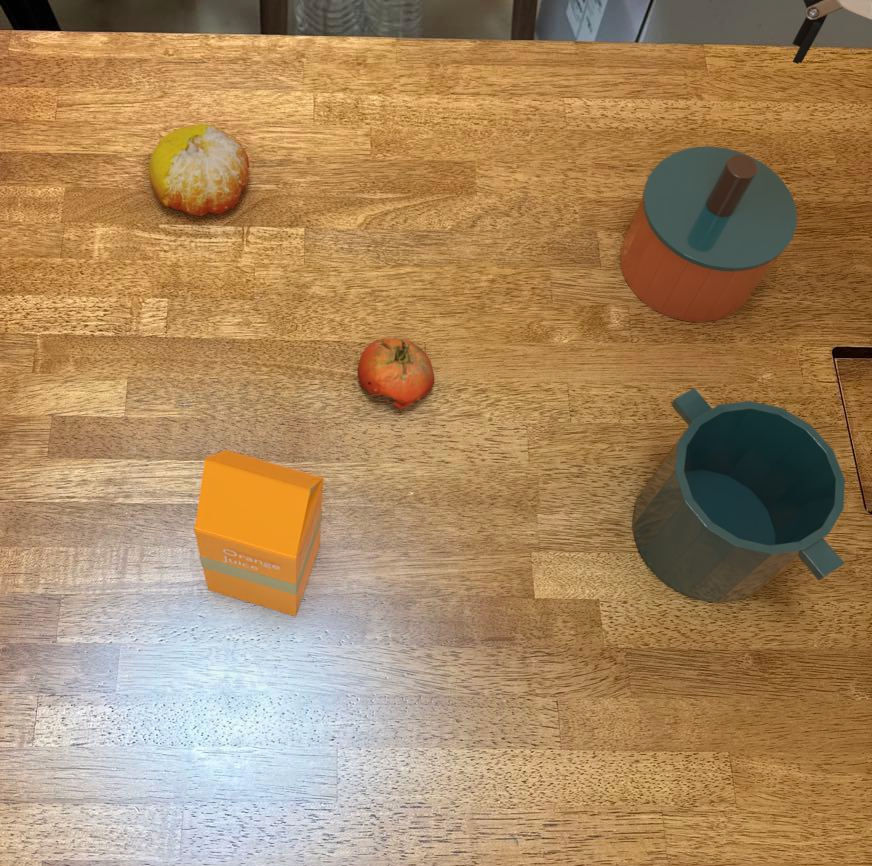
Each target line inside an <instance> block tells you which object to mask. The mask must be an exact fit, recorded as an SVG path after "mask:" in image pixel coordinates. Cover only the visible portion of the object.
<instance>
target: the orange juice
mask: <svg viewBox="0 0 872 866" xmlns="http://www.w3.org/2000/svg"><path fill="white" fill-rule="evenodd" d="M201 476H202V477H201V483H200V491H199V497H198V504H197V510H196V511H197V512H196V518H195V524H194V527H193V531H194V535H195V539H196V544H197V548H198V549H197V550H198V552H199V560H200V564H201V567H202V571H203V575H204V578H205V583H206V587H207V591H210V592H214V593H217V594H221V595H223V596H227V597H231V598H234V599H237V600H240V601H243V602H246V603H250V604H253V605H257V606H260V607H264V608H266V609H270V610H273V611H276V612H280V613H283V614H286V615H290V616H293V617H297V614H298V612H299V609H300V606H301V602H302V599H303V596H304V593H305V592H306V588H307V585H308V582H309V579H310V576H311V573H312V570H313V567H314V564H315V561H316V558H317V555H318V552H319V549H320V546H321V528H322V519H323V495H324V494H323V493H324V492H323V491H324V477H321V476H317V475H314V474H311V473H307V472H303V471H301V470H297V469H294V468H289V467H286V466H283V465H279V464H276V463H273V462H269V461H265V460H262V459H259V458H256V457H251V456H248V455H246V454H242V453H238V452H235V451H231V450H227V449H224V450H222V451H220V452H217V453H214V454H211V455H210V456H206V457H205V458H204V463H203V472H202V475H201Z"/></svg>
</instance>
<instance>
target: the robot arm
mask: <svg viewBox="0 0 872 866" xmlns="http://www.w3.org/2000/svg"><path fill="white" fill-rule="evenodd" d="M803 2H804V5H805V7H806V11H805V19H804V20H803V22H802V24H801V25H800V28H799V30H798V32H797V33H796V35H795V37H794V39H793V41H792V43H791V44H792V45H794V46H797V47H799V48H798V49H797V52H796V54H795V56H794V57H793V59H792V63H793V64H797V65H799V64H802V63H803V61H804V59H805V58H806V56H807V55H808V52H809V50H810V48H811V47H812V45H813V44H814V41H815V40H816V38H817V36H818V35H819V33H820V31H821V29H822V27H823V25H824V23H825V21H826V19H827V17H828V15H831V14H832V13H834V12H837V11H839V10H841V9H845V10H846V11H849V12H851V13H854V14H855V15H858V16H860V17H864V18H866V19H868V20H871V21H872V0H803Z"/></svg>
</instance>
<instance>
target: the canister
mask: <svg viewBox="0 0 872 866" xmlns="http://www.w3.org/2000/svg"><path fill="white" fill-rule="evenodd" d="M622 243H623V244H622ZM622 243H621V247H620V252H621V253H620V252H619V253H620V254H619V261H620V262H621V263H620V268H621V273H622V275H623V277H624V279H625V282H626V283H627V285H628V287H629V288H630V290H631V291H632V292H633V293H634V294H635V295H636V297H637V298H639V299H640V301H642V302H643V303H644V304H645V305H647V307H649V308H651V309H652V310H654V311H656V312H657V313H659V314H662V315H664V316H667V317H669V318H671V319H675V320H679V321H685V322H692V323H705V322H706V323H707V322H713V321H718V320H721V319H724V318H727V317H729V316H731V315H733V314H735V313H736V312H737V311H739V310H740V309H742V307H743V306H744V305H745V304H746V303H747V302H748V301H749V299H750V298H751V296H753V294H755V292H756V290H757V289H758V287H759V286H760V284H761V283H762V281H763V280H764V278H765V277H766V275H767V274H768V273H769V271H770V269H771V268H772V267H773V265H774V264H775V262H776V261H777V259H778V257H777V258H776V259H774V260H773V261H771V262H769V263H767V264H765V265H763V266H761V267H758V268H754V269H751V270H745V271H733V272H731V271H719V270H712V269H708V268H705V267H701V266H698V265H696V264H693V263H691V262H689V261H687V260H685V259H683V258H681V257H680V256H678V255H676V254H675V253H673V252H672V251H671V250H670V249H668V248H667V247H666V246H665V245H664V244H663V243H662V242H661V241H660V240H659V239H658V238H657V236H656V235H655V234H654V233H653V231H652V229H651V228H650V226H649V224H648V222H647V219H646V217H645V213H644V210H643V196H642V198H641V199H640V202H639V204H638V206H637V209H636V211H635V213H634V215H633V218H632V220H631V222H630V224H629V226H628V228H627V231H626V234H625V236H624V238H623V241H622Z"/></svg>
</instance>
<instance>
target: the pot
mask: <svg viewBox="0 0 872 866" xmlns="http://www.w3.org/2000/svg"><path fill="white" fill-rule="evenodd" d="M670 405H671V407H672V408H673V409H674V410H675V411H676V412H677V414H678V415H679V416H680V418H681V419H682V420H683V421H684V422H685V423H686V425H687V426H688V427H686V429H685V430H684V432H683V433H682V435H681V436H680V437H679V438H678V440H677V441H676V442H675V444H674V445H673V447H672V448H671V450H670V451H669V452H668V454H667V455H666V456H665V458H664V459H663V461H662V462H661V464H660V465H659V466H658V468H657V469H656V470H655V472H654V473H653V475H652V476H651V478H650V479H649V480H648V481H647V484H646V485H645V486H644V488H643V489H642V491H641V492H640V494H639V495H638V497H637V498H636V500H635V505H634V509H633V514H632V533H633V537H634V538H633V539H634V542H635V544H636V548H637V550H638V552H639V554H640V556H641V558H642V560H643V561H644V563H645V564H646V566H647V567H648V568H649V570H650V571H651V572H652V573H653V574H654V575H655V576H656V577H657V578H658V579H659V580H660V581H661V582H662V583H663V584H665V585H666V586H668V587H669V588H671V589H672V590H674V591H676V592H677V593H679V594H681V595H684V596H687V597H689V598H692V599H696V600H698V601H703V602H709V603H727V602H733V601H738V600H741V599H745V598H748V597H750V596H751V595H753V594H754V593H756V592H758V591H759V590H761V589H762V588H764V587H765V586H768V584H770V583H771V582H772V581H774V579H776V578H777V577H779V575H781V574H782V573H783V572H784V571H785V570H787V569H788V568H790V567H791V566H792V565H793V564H794V563H795V562H796V561H798V560H799V559H800V561H801V562H802V563H803V564H804V565H805V567H806V568H807V569H808V570H809V571H810V573H811V574H812V575H813V576H814V577H815V579H816V580H818V581H821V580H823V579H824V578H826V577H827V576H829V575H830V574H832V573H833V572H835V571H836V570H838V569H840V568H842V566H844V565H845V562H844V560H843V559H842V558H841V557H840V556H839V554H837V553H836V551H835V550H834V549H833V548H832V546H831V545H830V544H829V543H828V542H827V540H826V539H825V538H826V537H828V535H830V533H831V532H832V530H833V528H834V526H835V525H836V523H837V521H838V519H839V518H840V516H841V514H842V513H843V510H844V509H845V487H846V486H845V485H846V479H845V476H844V474H843V471H842V469H841V466H840V463H839V461H838V458H837V456H836V453H835V451H834V449H833V448H832V447H831V446H830V445H829V443H828V442H827V441H826V440H825V439H824V437H823V436H821V434H820V433H819V432H818V431H817V430H816V429H815V428H814V426H813V425H811V424H810V423H808V422H807V421H805V420H803V419H801V418H800V417H798V416H797V415H794V414H793V413H791V412H790V411H788V410H787V409H785V408H783V407H780V406H774V405H770V404H767V403H761V402H756V401H753V400H752V401H751V400H746V401H737V402H730V403H721V404H718V405H716V406H714V407H712V406H711V405H710V404H709V403H708V402H707V401H706V400H705V398H704V397H703V396H702V395H701V394H700V392H698V390H697V389H696V388H695V387H694V388H691V389H690V390H688V391H686V392H684V393H682V394H680V395H679V396H677V397H675V398H674V399H673V401H672V402H671V404H670Z"/></svg>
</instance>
